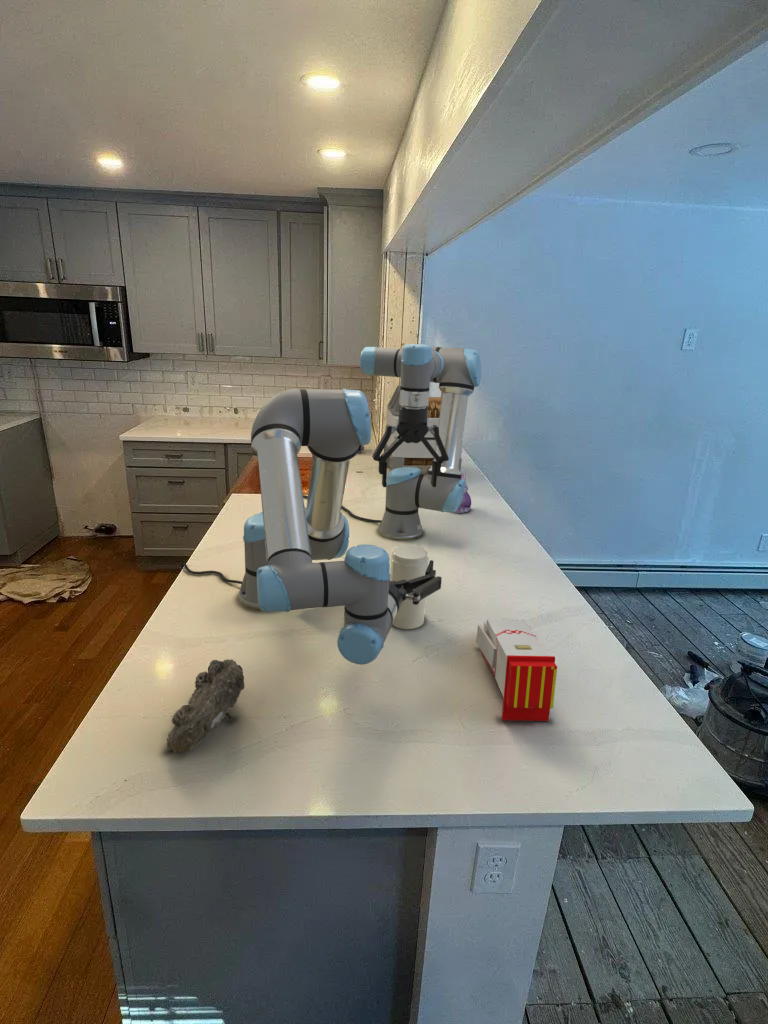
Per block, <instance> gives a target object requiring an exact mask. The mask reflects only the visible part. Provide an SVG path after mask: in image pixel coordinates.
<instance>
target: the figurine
mask: <svg viewBox="0 0 768 1024" xmlns="http://www.w3.org/2000/svg"><path fill="white" fill-rule="evenodd" d="M461 479H463V480H465V482H466V480H467V472H463V473H462V477H461ZM468 490H469V487H468V484H467V482H466V485H465V491H464V495H463V498H462V501H461V504H460V506H459V508H458V509H457V510H456V511H455V512H454V513H456V514H463V513H468V512H469V511H470V510H471V506H472V498H471V496H470V493H469V492H468Z"/></svg>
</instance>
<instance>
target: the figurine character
mask: <svg viewBox="0 0 768 1024" xmlns="http://www.w3.org/2000/svg"><path fill="white" fill-rule="evenodd" d="M364 449H365V446H362V445H360V446H359V450H358V453H359V454H362V451H364Z"/></svg>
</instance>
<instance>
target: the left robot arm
mask: <svg viewBox="0 0 768 1024" xmlns="http://www.w3.org/2000/svg"><path fill="white" fill-rule="evenodd" d="M371 438H372V425H371V415H370V409H369V403H368V399H367V397H366V395H365V393H364V392H363V391H361V390H359V389H347V388H343V389H321V388H320V389H319V388H316V389H315V388H305V389H303V388H290V389H286V390H282V391H280V392H278V393H277V394H274V396H273V395H272V397H271V398H270V399H268V400H267V401H266V402H265V404H264V405H263V406H262V407H261V408H260V409H259V411H258V413H257V415H256V416H255V418H254V421H253V423H252V427H251V432H250V447H251V451H252V454H253V455H254V456H255V457H256V458H257V465H258V476H259V486H260V487H259V488H260V497H261V499H260V501H261V508H262V511H261V512H258V513H256V514H253V515H251V516H250V517H248V518H247V519H246V520H245V522H244V524H243V536H242V540H243V543H244V544H243V545H244V575H243V578H242V580H237V579H236V580H235V579H228V578H226V577H225V576H224V574H223V573H222V572H220V571H217V570H202V571H196V570H195V571H193V570H191V569H190V568H189V567H188V565H187V563H186V562H183V563H181V565H180V567H182V568H183V567H184V568H185V570H186V571H187V573H189V574H191V575H192V574H193V575H205V574H206V575H207V574H216V575H218V576H220V578H221V579H222V580H223V581H225V582H226V583H230V584H238V585H241V586H240V588H239V592H238V597H239V602H240V603H241V604H242V605H243V606H244V607H246V608H248V609H251V610H255V611H263V612H266V613H279V612H280V613H289V612H291V611H301V610H309V609H317V608H318V609H319V608H331V607H342V606H343V609H344V619H343V620H344V623H343V627H341V629H340V631H339V634H338V637H337V649H338V651H339V653H340V655H341V656H342V657H343V658H344V659H345V660H346V661H348V662H350V663H352V664H355V665H362V666H363V665H367V664H370V663H373V661H375V660H376V659H377V658H378V656H379V654H380V652H381V651H382V650H383V649H384V645H385V642H386V640H387V637H388V635H389V633H390V630H391V628H392V626H393V625H392V623H393V621H394V619H395V617H396V614H397V613H398V610H399V608H400V606H401V603H402V602H403V601H404V600H406V599H409V600H412V601H413V604H414V605H417V604H419V602H420V601H421V600H422V599H424V598H425V597H426V598H427V597H429V596H431V595H432V594H434V593H437V592H438V591H439V590H441V589H442V580H443V579H442V578H443V577H442V576H436V574H437V570H436V569H434V563H435V562H434V561H435V560H432V559H431V560H429V562H428V567H427V570H426V572H425V575H424V576H421V577H418V578H415V579H411V580H408V581H407V580H405V579H404V580H401V581H389V580H390V566H391V563H390V555H389V553H388V552H387V551H386V550H385V548H382V547H380V546H378V545H374V544H357V545H356V546H352V547H349V543H350V540H349V538H350V524H349V521H348V517H346V515H343V513H342V512H341V511H342V508H341V507H342V506H343V500H344V494H345V490H346V483H347V477H348V474H349V473H348V472H349V467H350V462H351V460H352V459H354V458H355V457H356V456H357V455H358V453H359V452H358V450H359V446H360V445H362V446H363V447H365V446H366V445H367V446H368V445H369V444H370V443H371ZM302 447H307V449H308V451H309V453H310V454H311V463H310V472H309V481H308V491H307V496H308V498H306V506H305V500H304V497H303V495H304V493H303V486H302V485H303V484H302V479H301V478H302V477H301V472H300V471H301V470H300V464H299V457H298V456H299V455H298V454H299V453H300V452H301V449H302ZM342 557H344V560H334V559H339V558H342ZM322 560H325V561H322ZM326 560H328V561H326ZM330 560H334V561H330ZM313 561H320V562H313ZM402 585H403V587H402Z"/></svg>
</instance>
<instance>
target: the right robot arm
mask: <svg viewBox="0 0 768 1024" xmlns="http://www.w3.org/2000/svg"><path fill="white" fill-rule="evenodd" d="M480 356H481V355H480V354H479V352H478V350H476V349H471V348H465V347H463V348H461V347H445V346H431V345H429V344H424V343H423V344H422V343H406V344H404V345H403V346H402V348H395V347H381V346H365V347H364V348H363V349H362V350H361V353H360V355H359V367H360V371H361V373H363V374H364V375H367V376H368V375H369V376H372V377H374V376H377V377H378V376H379V377H390V378H391V377H393V378H400V384H399V385H400V399H399V404H400V405H401V407H400V408H399V418H398V425H397V426H391V425H389V424H387V423H386V425H385V430H384V433H383V435H382V437H381V439H380V441H379V442H378V444H377V446H376V448H375V450H374V452H373V453H372V455H371V457H372V459H373V461H375V462H378V474H379V475H381V486H382V487H383V488H385V504H384V505H385V507H384V508H385V509H384V513H383V515H382V519H373V518H366V517H361V516H358V515H356V514H354V513H352V511H351V510H349V509H348V508H346V507H345V506H344V505H342V507H341V510H344V511H345V512H347V513H348V515H350V516H351V517H352V518H354V519H357V520H360V521H364V522H370V523H377V524H378V523H379V527H378V533H379V534H380V535H381V536H382V537H385V538H387V539H389V540H395V541H410V540H415V539H418V538H420V537H421V536H422V535H423V525H422V524H421V518H420V515H419V509H424V510H430V511H435V512H436V511H437V512H441V513H456V512H455V511H456V510H457V509H458V508H459V506H460V504H461V501H462V498H463V495H464V491H465V485H466V484H467V482H465V480H463V479H461V477H462V476H463V473H462V471H461V472H460V470H459V469H458V466H459V459H460V451H461V444H462V445H463V443H462V441H463V438H464V432H463V430H464V429H465V423H466V415H467V408H468V402H469V401H468V400H469V397H470V396H472V394H473V393H474V392H475V388H476V387H479V386H480V384H481V378H482V361H481V357H480ZM431 383H435V384H438V389H439V391H440V393H441V392H442V401H441V409H440V416H439V424H438V427H437V426H436V425H433V426H429V427H428V426H427V419H428V409H427V408H426V407H427V406H428V403H429V397H430V386H431ZM394 431H397V432H398V434H399V435H398V436H397V438H396V439H395V441H394V442H393V443H392V444H391V445H390V446H389V447H388V448H387V449H386V450H385V452H384V447H385V445H386V444H387V442H388V440H389V438H390V436H391V434H393V433H394ZM428 431H430V433H431V434H432V435H433V436H434V439H435V441H436V446H435V450H434V449H433V448H432V446H431V445H430V444H429V443H428V441H427V440H426V439H425V437H424V436H425V435H426V434H427V433H428ZM464 431H465V430H464ZM462 437H463V438H462ZM420 441H421V442H422V443H423V444H424V445H425V447H426V448H427V449H428V451H429V452H430V453H431V454H432V456H433V457H434V460H433V464H432V465H430V466H429V468H428V469H427V472H426V474H425V473H422V470H421V468H419V467H417V466H404V467H402V468H396V469H393V470H391V471H390V470H389V472H388V467H387V462H386V460H387V459H388V457H389V456H390V455H391V454H392V453H393V452H394V451H395V450H396V449H397V448H398V446H399V445H401V444H402V443H403V442H406V443H412V442H413V443H418V442H420ZM304 498H305V499H308V495H306V494H305V495H304V494H303V499H304Z"/></svg>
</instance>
